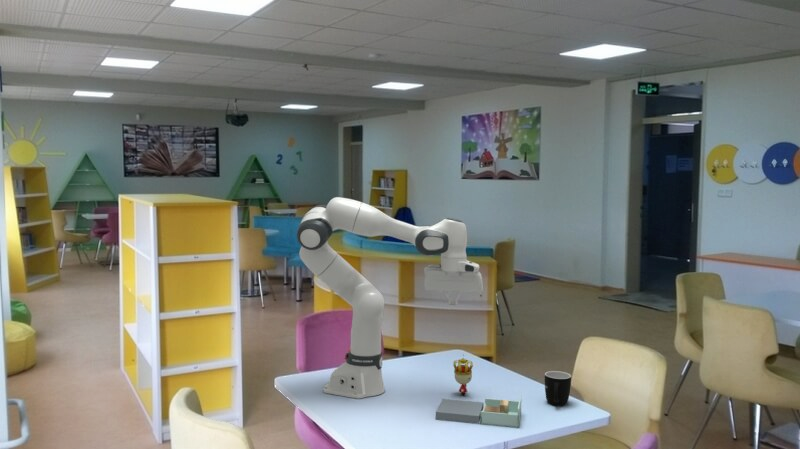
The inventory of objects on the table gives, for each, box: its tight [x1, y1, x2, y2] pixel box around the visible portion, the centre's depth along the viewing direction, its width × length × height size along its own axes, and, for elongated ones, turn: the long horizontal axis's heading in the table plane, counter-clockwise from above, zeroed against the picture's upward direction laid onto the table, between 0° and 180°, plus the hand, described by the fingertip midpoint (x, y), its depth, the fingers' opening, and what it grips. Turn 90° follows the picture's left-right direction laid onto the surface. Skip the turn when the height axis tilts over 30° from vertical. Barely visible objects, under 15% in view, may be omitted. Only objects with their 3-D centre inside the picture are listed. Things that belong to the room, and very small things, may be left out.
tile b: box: [484, 406, 500, 413], centre depth 211 cm, size 5×5×2 cm
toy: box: [452, 353, 474, 397], centre depth 233 cm, size 7×7×15 cm
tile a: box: [500, 399, 510, 414], centre depth 210 cm, size 5×5×2 cm
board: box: [435, 398, 485, 425], centre depth 214 cm, size 14×13×2 cm
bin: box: [479, 395, 522, 429], centre depth 210 cm, size 12×13×6 cm
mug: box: [544, 370, 572, 407], centre depth 224 cm, size 12×9×10 cm
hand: (453, 304), depth 224 cm, fingers closed
